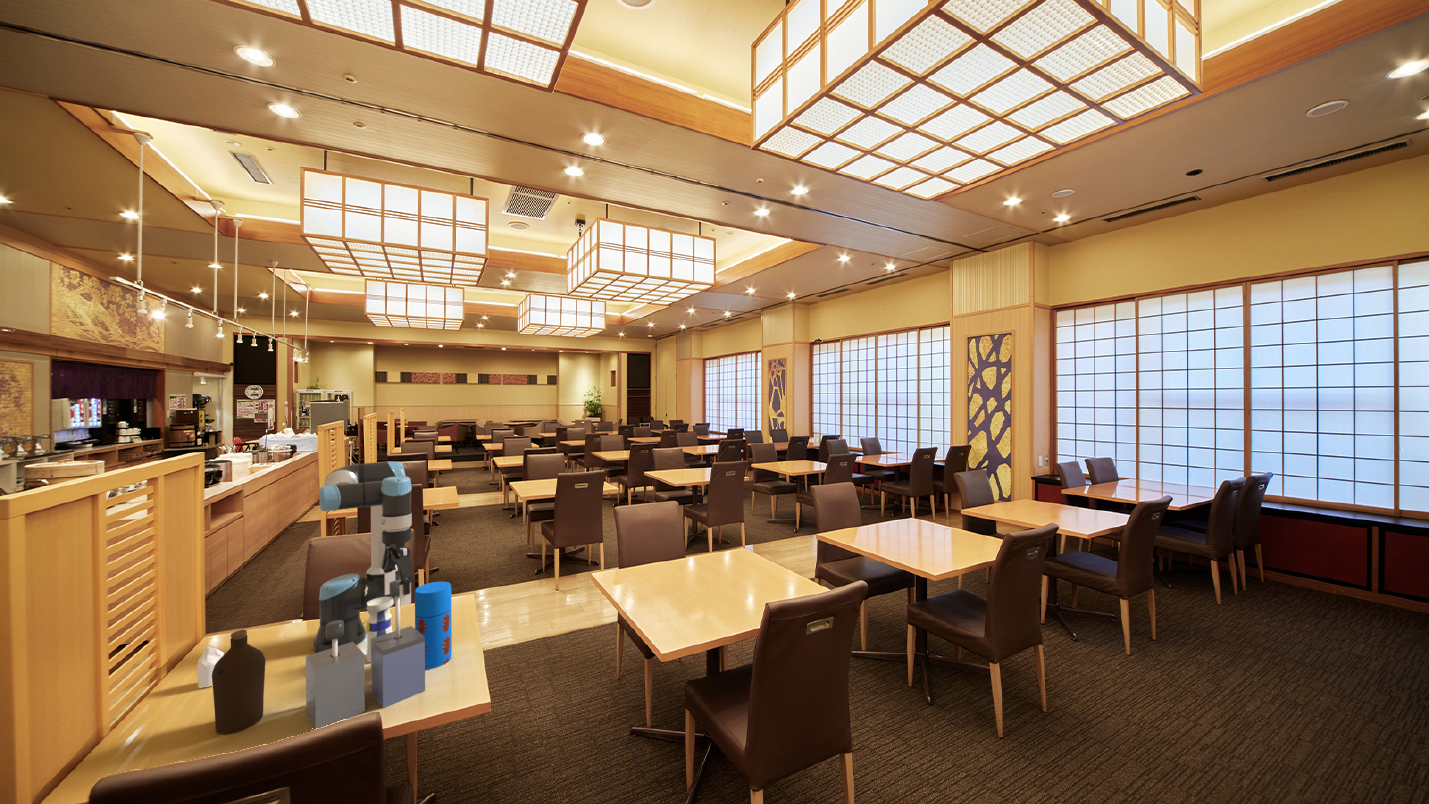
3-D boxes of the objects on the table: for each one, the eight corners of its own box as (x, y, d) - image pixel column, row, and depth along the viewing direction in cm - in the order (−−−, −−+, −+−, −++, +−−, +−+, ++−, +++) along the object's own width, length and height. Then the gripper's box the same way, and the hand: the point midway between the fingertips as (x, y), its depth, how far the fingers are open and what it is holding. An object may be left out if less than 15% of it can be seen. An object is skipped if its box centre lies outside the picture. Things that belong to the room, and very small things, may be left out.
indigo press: (367, 688, 152) (366, 634, 152) (407, 673, 161) (406, 622, 160) (383, 708, 142) (382, 650, 142) (425, 690, 151) (424, 636, 151)
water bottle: (367, 666, 165) (366, 591, 165) (363, 656, 171) (363, 584, 171) (396, 657, 170) (395, 585, 170) (391, 648, 177) (391, 578, 176)
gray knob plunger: (377, 649, 150) (376, 582, 149) (408, 638, 156) (407, 575, 156) (386, 658, 144) (385, 589, 144) (418, 647, 151) (417, 581, 150)
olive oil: (258, 728, 134) (257, 636, 134) (205, 741, 129) (204, 645, 129) (271, 706, 143) (270, 620, 143) (221, 718, 138) (220, 628, 138)
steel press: (303, 709, 142) (302, 651, 142) (349, 691, 150) (349, 637, 150) (315, 731, 132) (315, 670, 132) (364, 711, 141) (364, 654, 141)
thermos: (435, 671, 162) (434, 594, 161) (407, 667, 164) (406, 592, 164) (459, 654, 172) (458, 582, 172) (432, 651, 174) (431, 580, 174)
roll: (227, 639, 159) (219, 647, 154) (227, 677, 159) (219, 686, 154) (202, 643, 156) (192, 652, 151) (202, 681, 156) (193, 691, 151)
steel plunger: (313, 695, 140) (312, 624, 139) (349, 682, 146) (348, 614, 146) (320, 707, 134) (319, 633, 134) (357, 693, 141) (356, 622, 140)
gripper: (369, 524, 155) (370, 592, 155) (397, 538, 139) (397, 614, 139) (396, 519, 161) (397, 585, 161) (426, 533, 145) (426, 606, 145)
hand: (397, 599), depth 150 cm, fingers open, 13 cm apart
